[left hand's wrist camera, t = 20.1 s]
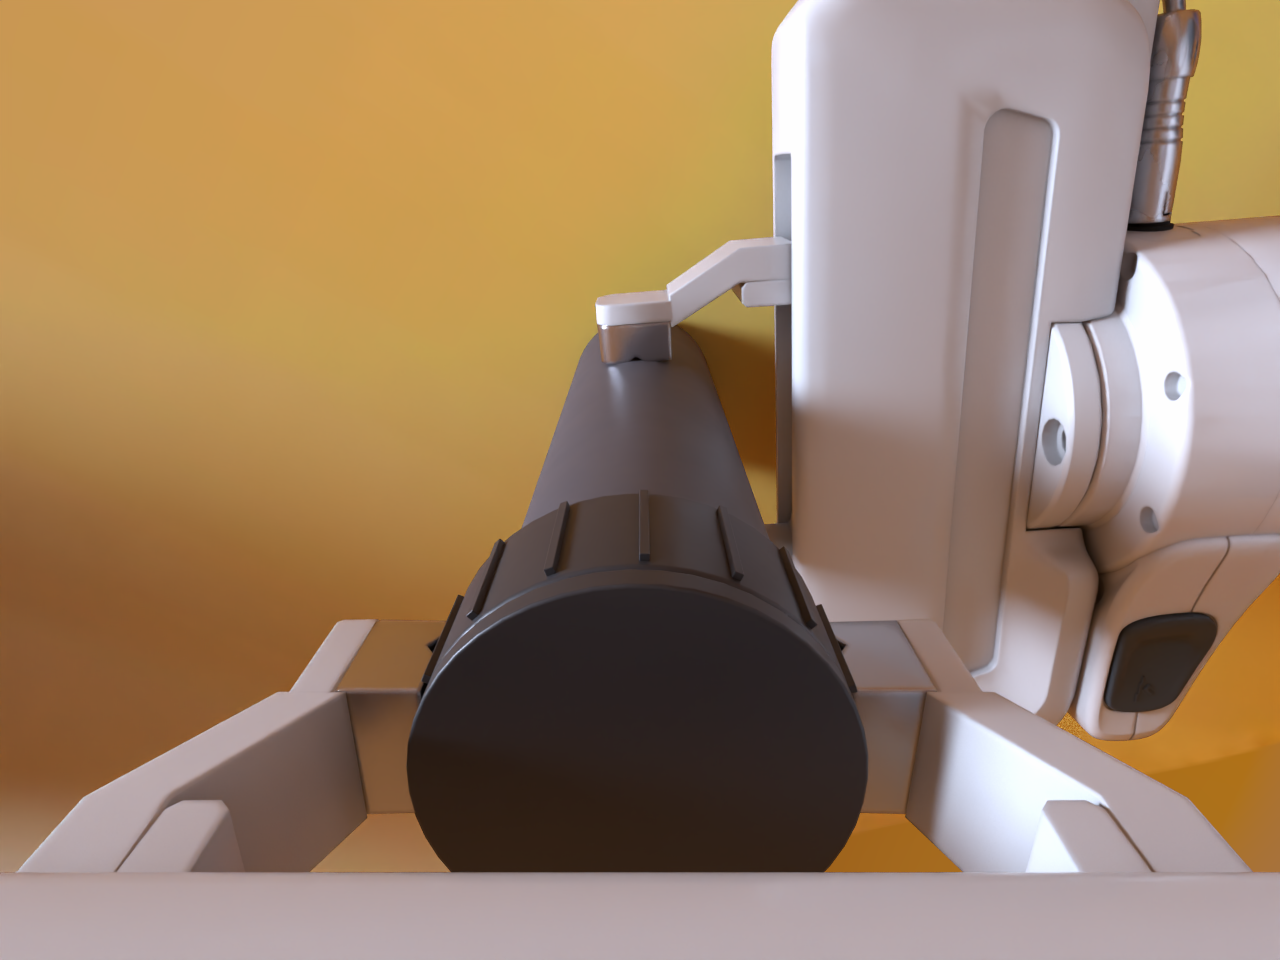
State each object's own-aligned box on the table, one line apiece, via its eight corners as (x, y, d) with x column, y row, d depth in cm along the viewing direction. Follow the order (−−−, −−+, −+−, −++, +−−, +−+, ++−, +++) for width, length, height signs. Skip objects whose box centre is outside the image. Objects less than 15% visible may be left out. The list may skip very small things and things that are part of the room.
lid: (586, 849, 12) (574, 1003, 10) (375, 608, 10) (302, 726, 8) (886, 707, 11) (949, 842, 9) (704, 413, 9) (725, 489, 7)
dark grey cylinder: (641, 286, 25) (641, 506, 8) (736, 381, 26) (908, 746, 9) (548, 383, 26) (381, 750, 9) (643, 470, 27) (646, 935, 10)
